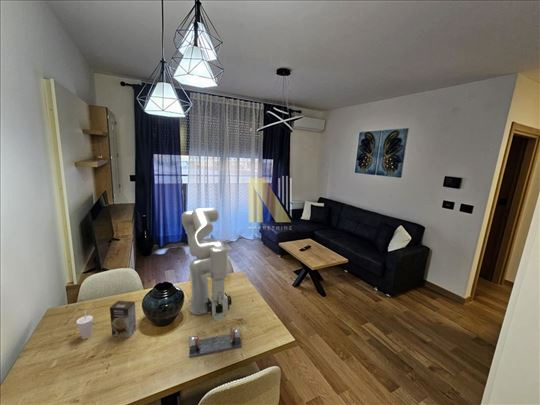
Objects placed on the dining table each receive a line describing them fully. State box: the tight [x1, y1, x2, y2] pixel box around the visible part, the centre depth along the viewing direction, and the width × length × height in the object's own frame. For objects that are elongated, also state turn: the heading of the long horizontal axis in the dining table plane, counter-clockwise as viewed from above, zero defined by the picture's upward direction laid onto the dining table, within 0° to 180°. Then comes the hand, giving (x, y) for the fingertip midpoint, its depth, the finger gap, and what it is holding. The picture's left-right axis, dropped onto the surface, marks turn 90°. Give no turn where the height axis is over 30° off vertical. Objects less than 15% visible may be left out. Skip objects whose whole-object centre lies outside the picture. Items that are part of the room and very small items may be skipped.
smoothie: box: [76, 310, 94, 339], centre depth 116 cm, size 6×6×14 cm
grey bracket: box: [188, 326, 242, 359], centre depth 115 cm, size 24×9×7 cm, turn 107°
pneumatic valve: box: [205, 292, 233, 322], centre depth 113 cm, size 6×12×12 cm, turn 122°
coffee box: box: [109, 300, 137, 338], centre depth 120 cm, size 9×6×16 cm
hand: (218, 308), depth 113 cm, fingers closed on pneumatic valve, 5 cm apart
